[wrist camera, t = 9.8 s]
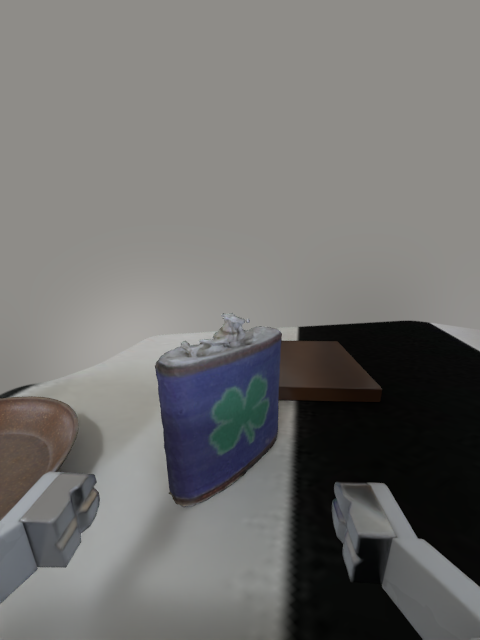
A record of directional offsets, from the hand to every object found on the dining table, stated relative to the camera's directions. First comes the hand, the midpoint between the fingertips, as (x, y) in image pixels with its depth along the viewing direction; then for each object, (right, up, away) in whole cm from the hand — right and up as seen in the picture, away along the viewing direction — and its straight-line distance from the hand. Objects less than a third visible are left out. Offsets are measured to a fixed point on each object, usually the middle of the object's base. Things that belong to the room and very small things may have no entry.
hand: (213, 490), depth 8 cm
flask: (0, -4, +9) cm, 10 cm away
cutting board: (+5, 0, +23) cm, 23 cm away
